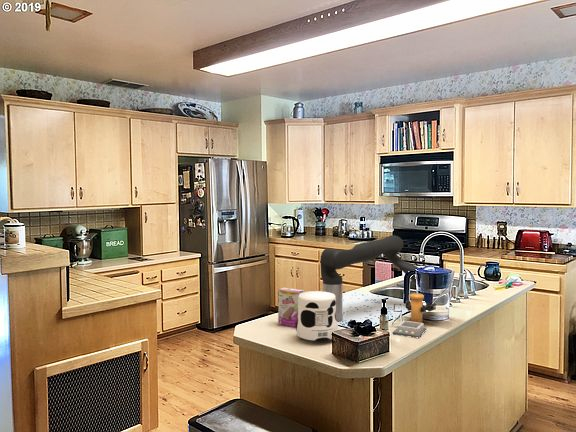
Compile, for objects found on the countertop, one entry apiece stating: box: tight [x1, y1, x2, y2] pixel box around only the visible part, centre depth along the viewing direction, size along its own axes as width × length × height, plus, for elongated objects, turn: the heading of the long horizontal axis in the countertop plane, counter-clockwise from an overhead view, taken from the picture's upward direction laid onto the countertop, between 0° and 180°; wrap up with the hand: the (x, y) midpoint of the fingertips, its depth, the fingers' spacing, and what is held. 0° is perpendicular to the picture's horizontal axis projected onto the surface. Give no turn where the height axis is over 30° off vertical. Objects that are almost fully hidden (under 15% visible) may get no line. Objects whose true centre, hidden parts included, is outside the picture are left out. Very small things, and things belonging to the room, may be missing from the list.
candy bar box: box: [277, 287, 305, 329], centre depth 211 cm, size 11×5×16 cm, turn 59°
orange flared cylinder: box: [409, 292, 424, 323], centre depth 210 cm, size 6×6×14 cm
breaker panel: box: [392, 320, 427, 339], centre depth 201 cm, size 11×12×3 cm
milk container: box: [295, 290, 339, 343], centre depth 193 cm, size 17×17×18 cm
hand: (415, 309), depth 208 cm, fingers closed on orange flared cylinder, 5 cm apart
